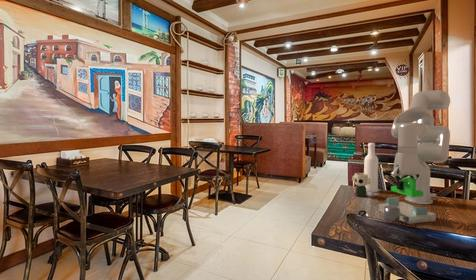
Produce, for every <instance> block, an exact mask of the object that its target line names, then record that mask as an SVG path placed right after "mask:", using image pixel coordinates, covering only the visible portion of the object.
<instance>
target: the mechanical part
mask: <svg viewBox="0 0 476 280" xmlns="http://www.w3.org/2000/svg"><path fill="white" fill-rule="evenodd" d="M402 181H403V190H399V189H397V185H392V186H390V191H392V192H395V193H398V194H399V195H403V196H410V197H419V196H423V191H419V190H416V182H415V180H414V179H413V178H409V177H404V178H403V180H402ZM409 184H410V186H409Z"/></svg>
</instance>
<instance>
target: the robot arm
mask: <svg viewBox="0 0 476 280" xmlns="http://www.w3.org/2000/svg"><path fill="white" fill-rule="evenodd" d="M450 105H451V97H450V95H449V94H448V92H447V91H445V90H441V89H436V90H422V91H418V92H416V93H414V94H413V96H412V98H411V102H410V103H409V106H408V107H409V108H408V109H406V110H404V111H402V112H401V113H399V114H398V115H396V117H395V118H394V120H393V123H392V125H391V130H390V133H391V135H392V137H393V138H395V139H397V140H398V141H397V152H396V153H395V157H394V162H393V171H391V173H390V174H391V175H392V176H393V178H394V180H395V181H396V186H397V189H399V190H403V179H404V178H405V176H408V178H413V179H414V180H415V182H416V190H419V191H423V196H419V197H410V196H407V195H405V197H404V200H405V201H407V202H409V203H413V204H417V205H432V204H433V203H434V202H433V201H434V200H433V199H432V198H436V197H437V193H431V191H430V190H431V189H430V188H431V168H430V166H429V165H428V164H427V163H426V162H429V163H431V162H432V163H445V162H447V160H448V158H449V150H450V144H451V142H450V141H451V131H450V129H449V127H447V126H444V125H435V118H434V116H433V115H432V114H431V113H430V112H429V111H434V110H439V111H440V110H447V109H448V108H449V107H450ZM408 185H409V186H410V184H409V183H408Z"/></svg>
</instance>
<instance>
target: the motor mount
mask: <svg viewBox="0 0 476 280" xmlns="http://www.w3.org/2000/svg"><path fill="white" fill-rule="evenodd" d="M377 209H378V211H380V212H382V213H383V221H384V220H386V221H391V222H398V223H399V224H400V221H402V222H404V223H406V224H409V225H410V224H418V223H426V222H427V223H429V222H436V221H437V220H436V218H437V216H436V215H437V214H436V213H434V212H432V211H428V210H429V208H428V207H427V206H419V207H417V206H415V205H412V204H409V203H407V202H403V201H400V197H397V196H395V197H393V196H392V197H386V199H385V203H378V208H377Z"/></svg>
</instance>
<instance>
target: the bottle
mask: <svg viewBox="0 0 476 280" xmlns="http://www.w3.org/2000/svg"><path fill="white" fill-rule="evenodd" d="M367 149H368V150H367V153H368V154H367V155H365V156H364V159H363V160H364V162H363V163H364V165H363V167H364V168H363V173H365V174H368V178H369V179H370V184H367V185H366V186H365V187H366V191H367V193H377V192H378V191H379V158H378V156H377V155H376V153H375V152H376V150H375V149H376V143H375V142H368V144H367Z"/></svg>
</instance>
